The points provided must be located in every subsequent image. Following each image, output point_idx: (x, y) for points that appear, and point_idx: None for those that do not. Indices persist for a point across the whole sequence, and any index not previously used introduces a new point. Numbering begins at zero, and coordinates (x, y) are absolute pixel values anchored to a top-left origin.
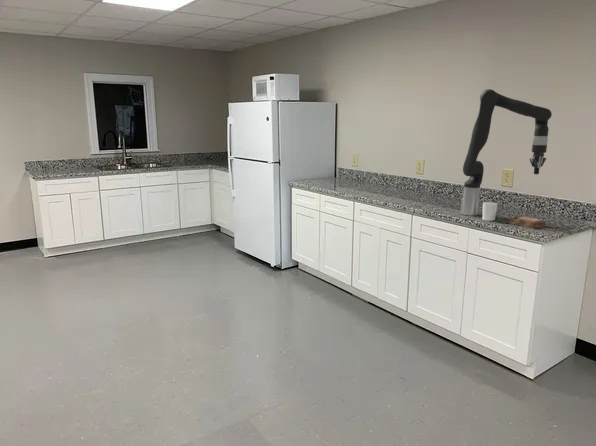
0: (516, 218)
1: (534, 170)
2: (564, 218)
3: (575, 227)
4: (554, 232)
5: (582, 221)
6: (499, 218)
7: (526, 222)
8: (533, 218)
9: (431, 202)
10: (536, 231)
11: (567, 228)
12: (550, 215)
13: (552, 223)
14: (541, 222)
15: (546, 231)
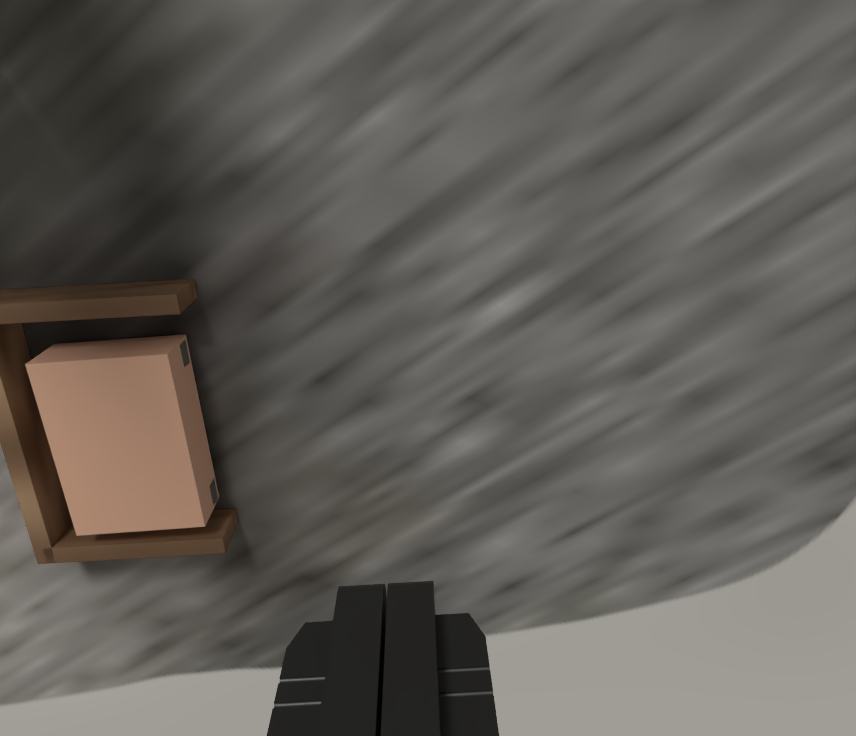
0: (71, 317)
1: (276, 725)
2: (783, 384)
3: None
4: (126, 666)
5: (774, 533)
6: (85, 38)
7: (19, 488)
8: (181, 455)
9: None
10: (5, 596)
11: None
12: (833, 213)
13: (430, 472)
14: (156, 554)
15: (90, 626)
